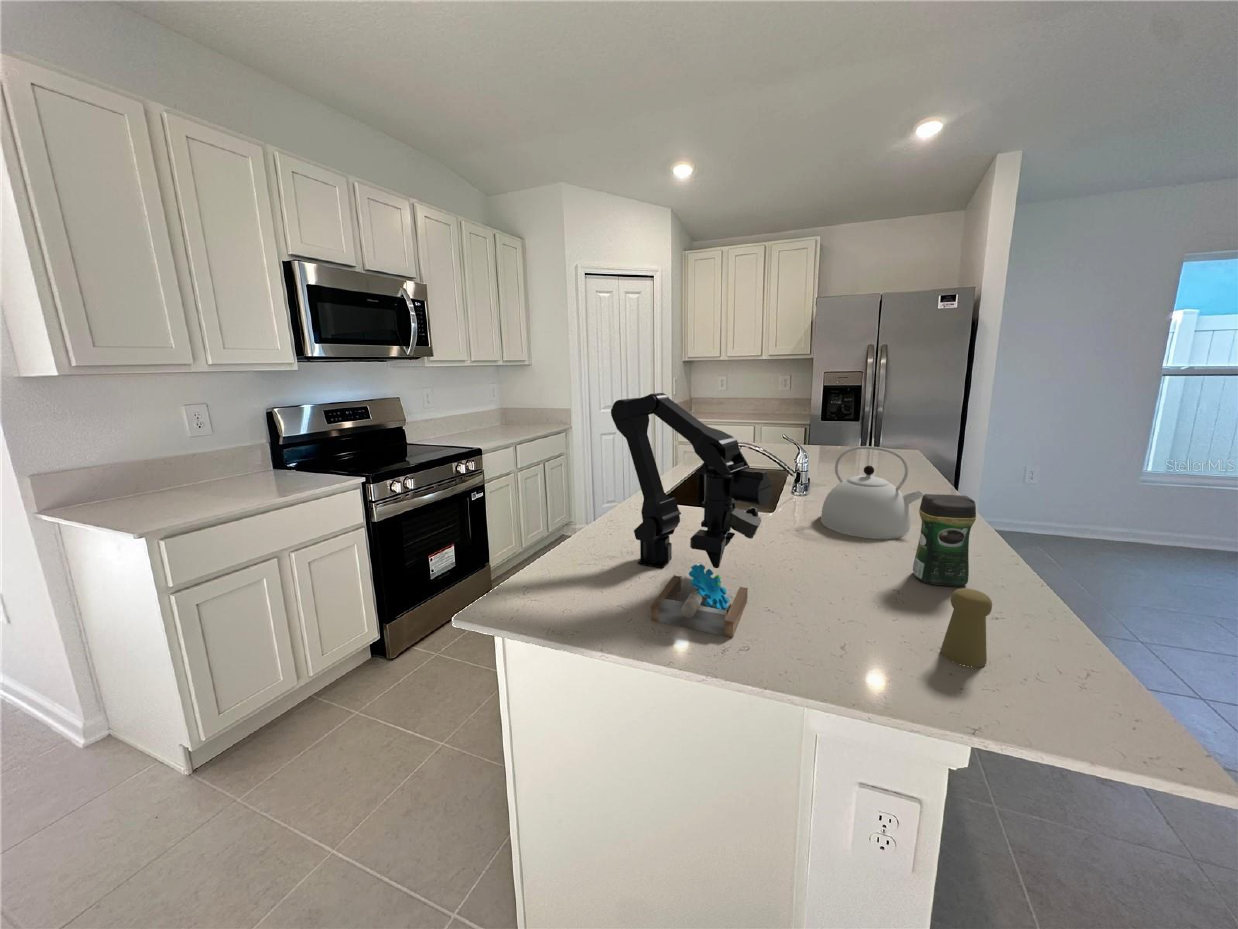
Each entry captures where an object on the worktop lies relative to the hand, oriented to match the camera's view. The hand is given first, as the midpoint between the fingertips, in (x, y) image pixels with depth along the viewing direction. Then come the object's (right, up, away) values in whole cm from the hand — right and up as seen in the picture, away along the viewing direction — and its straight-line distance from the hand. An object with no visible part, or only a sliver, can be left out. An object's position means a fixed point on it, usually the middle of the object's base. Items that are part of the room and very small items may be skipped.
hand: (716, 567), depth 103 cm
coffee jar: (+47, -3, 0) cm, 47 cm away
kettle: (+50, +4, +34) cm, 60 cm away
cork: (+34, -9, -26) cm, 44 cm away
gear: (-3, -6, -8) cm, 10 cm away
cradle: (-5, -6, -11) cm, 13 cm away
